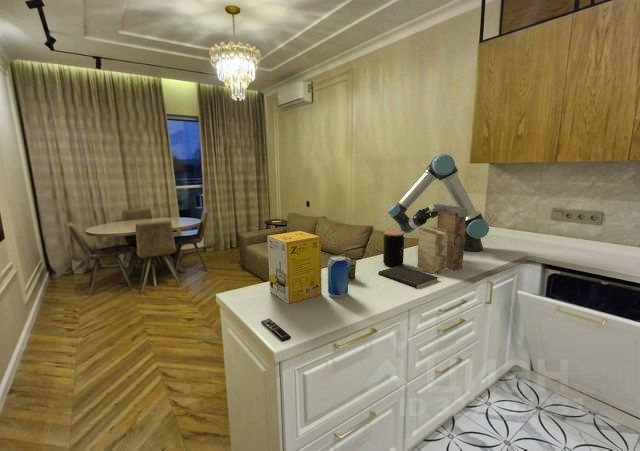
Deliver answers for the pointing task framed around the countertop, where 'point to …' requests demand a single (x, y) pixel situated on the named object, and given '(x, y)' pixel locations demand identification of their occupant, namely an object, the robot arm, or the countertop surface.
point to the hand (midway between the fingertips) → (442, 205)
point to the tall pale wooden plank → (432, 249)
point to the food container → (350, 267)
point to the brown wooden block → (453, 238)
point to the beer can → (337, 276)
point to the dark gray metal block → (451, 209)
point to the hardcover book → (408, 276)
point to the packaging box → (294, 265)
